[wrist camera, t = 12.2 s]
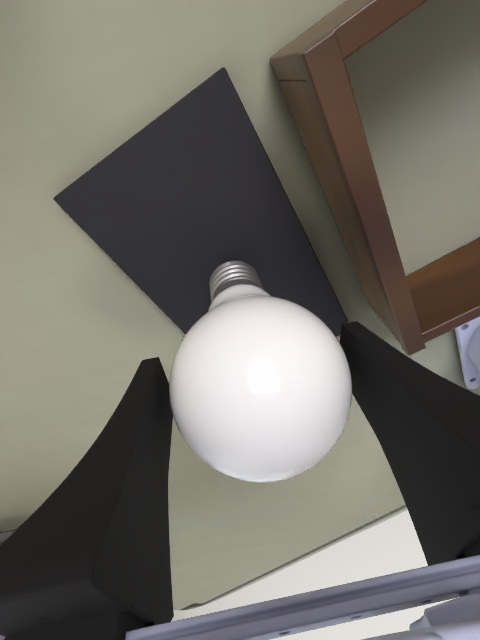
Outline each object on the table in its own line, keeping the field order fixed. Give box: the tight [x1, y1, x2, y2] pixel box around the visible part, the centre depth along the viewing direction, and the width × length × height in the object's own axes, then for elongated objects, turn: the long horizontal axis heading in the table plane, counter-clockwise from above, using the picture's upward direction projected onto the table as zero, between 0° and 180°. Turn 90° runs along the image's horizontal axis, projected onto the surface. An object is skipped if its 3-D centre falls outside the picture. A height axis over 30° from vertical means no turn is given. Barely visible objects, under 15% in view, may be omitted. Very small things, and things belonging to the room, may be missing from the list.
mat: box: [54, 68, 348, 337], centre depth 18 cm, size 16×9×1 cm, turn 31°
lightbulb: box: [169, 261, 352, 483], centre depth 13 cm, size 6×6×11 cm
